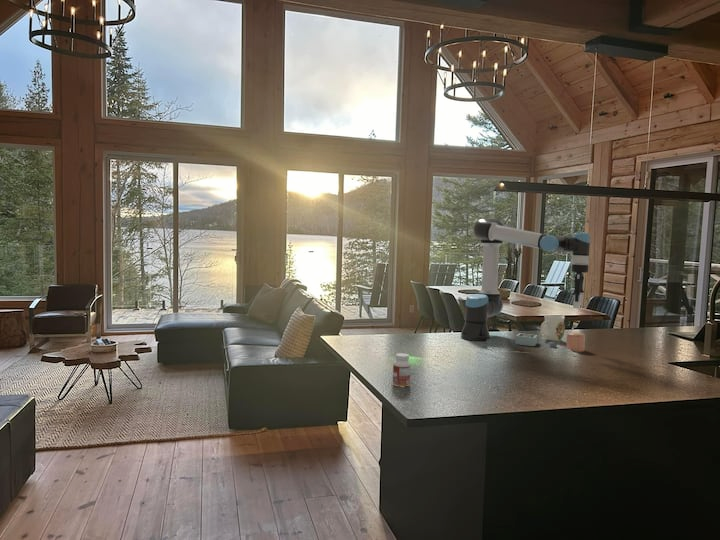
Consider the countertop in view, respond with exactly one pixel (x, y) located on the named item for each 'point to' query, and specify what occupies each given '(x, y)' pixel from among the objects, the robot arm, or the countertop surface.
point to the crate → (526, 339)
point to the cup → (575, 341)
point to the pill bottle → (401, 370)
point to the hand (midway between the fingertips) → (577, 307)
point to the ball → (553, 345)
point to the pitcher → (553, 327)
